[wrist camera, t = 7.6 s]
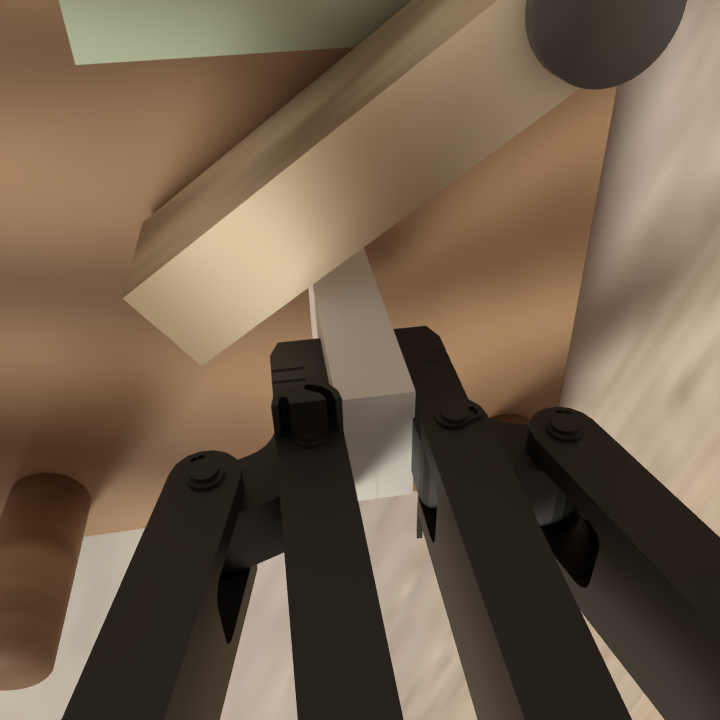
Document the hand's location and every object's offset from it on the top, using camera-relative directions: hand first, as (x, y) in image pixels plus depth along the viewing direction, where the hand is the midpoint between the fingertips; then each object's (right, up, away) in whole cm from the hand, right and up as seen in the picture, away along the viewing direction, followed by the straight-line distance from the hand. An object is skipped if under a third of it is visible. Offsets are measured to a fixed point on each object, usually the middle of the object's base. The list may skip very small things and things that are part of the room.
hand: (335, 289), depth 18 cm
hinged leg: (+1, +4, -2) cm, 5 cm away
